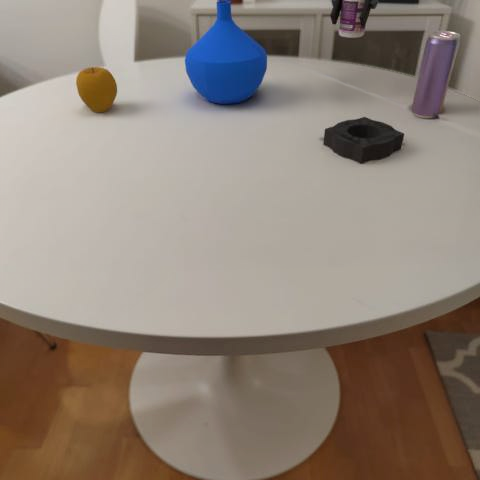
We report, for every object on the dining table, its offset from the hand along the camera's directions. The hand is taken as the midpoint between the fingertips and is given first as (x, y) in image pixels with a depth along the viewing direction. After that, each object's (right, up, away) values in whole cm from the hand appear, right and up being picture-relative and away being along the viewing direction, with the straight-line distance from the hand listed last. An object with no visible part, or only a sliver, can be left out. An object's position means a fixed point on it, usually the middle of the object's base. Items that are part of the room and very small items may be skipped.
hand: (347, 20), depth 92 cm
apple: (-53, -14, +11) cm, 56 cm away
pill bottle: (+2, 0, +5) cm, 5 cm away
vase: (-25, -9, +15) cm, 30 cm away
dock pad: (+1, -27, -7) cm, 28 cm away
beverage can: (+17, -17, +4) cm, 25 cm away
